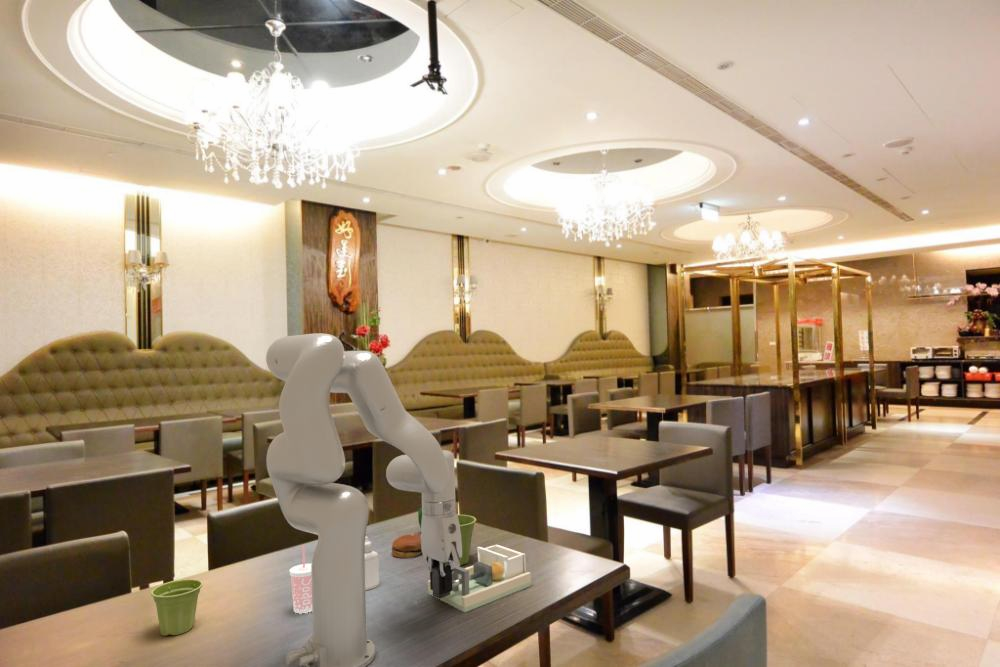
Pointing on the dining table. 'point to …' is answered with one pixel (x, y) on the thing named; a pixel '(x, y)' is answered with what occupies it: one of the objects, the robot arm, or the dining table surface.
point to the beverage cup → (301, 586)
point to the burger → (407, 546)
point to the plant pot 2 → (465, 536)
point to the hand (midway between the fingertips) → (441, 589)
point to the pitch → (511, 581)
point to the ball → (497, 570)
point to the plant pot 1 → (176, 605)
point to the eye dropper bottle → (371, 566)
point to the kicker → (480, 575)
